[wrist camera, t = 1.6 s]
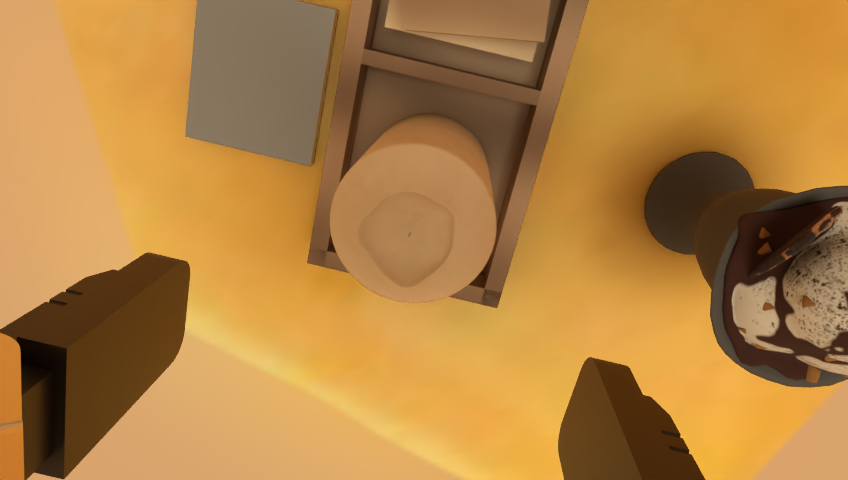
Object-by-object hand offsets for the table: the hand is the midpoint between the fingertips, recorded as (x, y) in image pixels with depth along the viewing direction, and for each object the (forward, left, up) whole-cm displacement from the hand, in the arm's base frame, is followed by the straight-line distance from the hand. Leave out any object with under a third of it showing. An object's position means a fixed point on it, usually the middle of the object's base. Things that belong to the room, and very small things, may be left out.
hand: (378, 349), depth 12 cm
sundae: (-1, +13, -17) cm, 21 cm away
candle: (0, 0, -17) cm, 17 cm away
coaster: (-3, -8, -17) cm, 19 cm away
